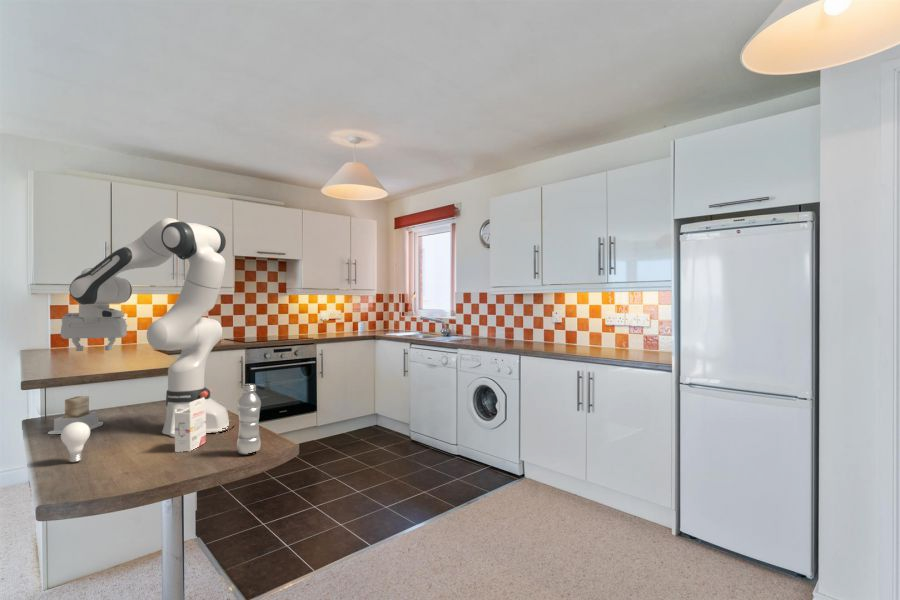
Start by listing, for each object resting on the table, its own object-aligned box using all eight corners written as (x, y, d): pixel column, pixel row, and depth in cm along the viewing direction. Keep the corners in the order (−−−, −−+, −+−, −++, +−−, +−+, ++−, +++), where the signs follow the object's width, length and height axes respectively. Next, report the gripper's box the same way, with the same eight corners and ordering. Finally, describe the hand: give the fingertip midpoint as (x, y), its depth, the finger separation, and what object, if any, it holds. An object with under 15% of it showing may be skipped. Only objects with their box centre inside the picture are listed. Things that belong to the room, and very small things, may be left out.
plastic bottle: (255, 448, 138) (255, 382, 138) (264, 453, 133) (264, 384, 133) (233, 453, 133) (233, 384, 133) (241, 458, 128) (242, 387, 128)
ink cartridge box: (190, 443, 142) (191, 396, 143) (206, 443, 142) (206, 396, 142) (173, 452, 134) (173, 402, 134) (190, 452, 134) (190, 402, 134)
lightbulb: (65, 467, 121) (66, 426, 121) (56, 463, 125) (56, 423, 125) (94, 461, 127) (94, 421, 127) (84, 457, 130) (84, 418, 130)
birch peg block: (88, 424, 162) (89, 396, 162) (77, 428, 156) (77, 399, 156) (76, 424, 162) (76, 396, 162) (64, 429, 156) (64, 399, 156)
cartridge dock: (102, 424, 165) (103, 410, 166) (81, 433, 154) (81, 418, 154) (72, 425, 164) (72, 411, 164) (48, 435, 152) (48, 420, 152)
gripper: (56, 313, 162) (56, 352, 162) (119, 312, 165) (119, 350, 165) (68, 312, 168) (67, 350, 168) (129, 312, 171) (129, 349, 171)
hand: (94, 350), depth 166 cm, fingers open, 8 cm apart
